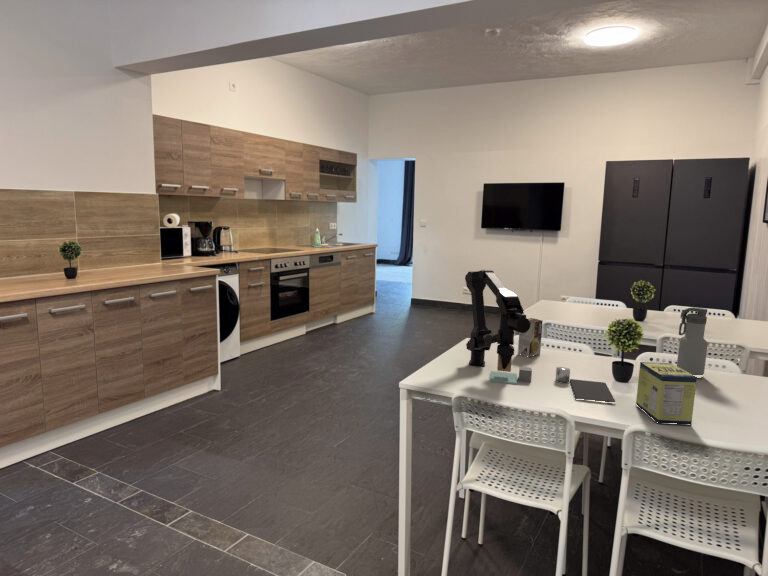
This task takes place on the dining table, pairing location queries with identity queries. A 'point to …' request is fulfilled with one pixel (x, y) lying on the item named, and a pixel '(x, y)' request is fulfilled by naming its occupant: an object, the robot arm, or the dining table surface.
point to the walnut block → (501, 365)
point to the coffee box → (531, 339)
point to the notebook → (591, 390)
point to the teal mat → (503, 377)
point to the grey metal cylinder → (562, 374)
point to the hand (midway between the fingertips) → (504, 366)
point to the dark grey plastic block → (525, 374)
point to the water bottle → (693, 342)
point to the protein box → (666, 392)
